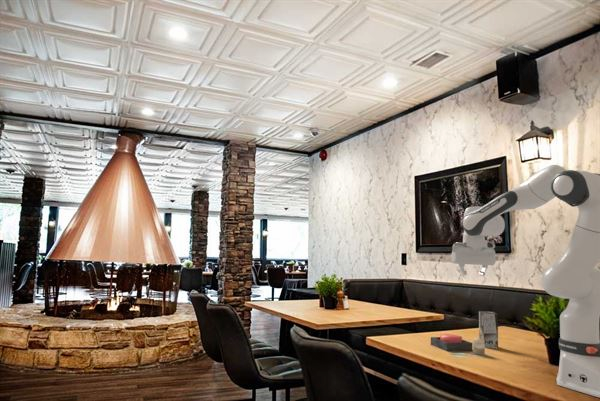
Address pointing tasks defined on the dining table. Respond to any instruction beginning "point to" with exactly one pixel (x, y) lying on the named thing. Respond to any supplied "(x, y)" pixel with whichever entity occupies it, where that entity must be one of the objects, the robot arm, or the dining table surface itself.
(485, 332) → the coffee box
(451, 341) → the dome
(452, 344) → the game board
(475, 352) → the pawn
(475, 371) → the dining table surface
